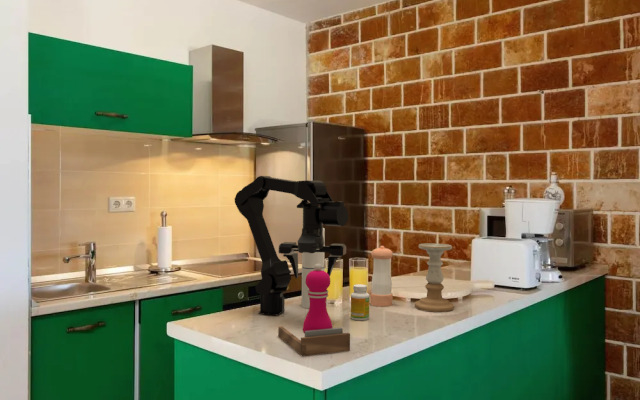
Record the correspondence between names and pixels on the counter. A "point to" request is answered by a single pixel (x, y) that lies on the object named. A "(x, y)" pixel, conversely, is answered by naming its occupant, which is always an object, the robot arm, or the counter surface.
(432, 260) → the candle holder
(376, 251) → the salt shaker
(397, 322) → the counter surface
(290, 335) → the lane
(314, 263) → the cylindrical container
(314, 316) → the pepper mill
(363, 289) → the supplement bottle
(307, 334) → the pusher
